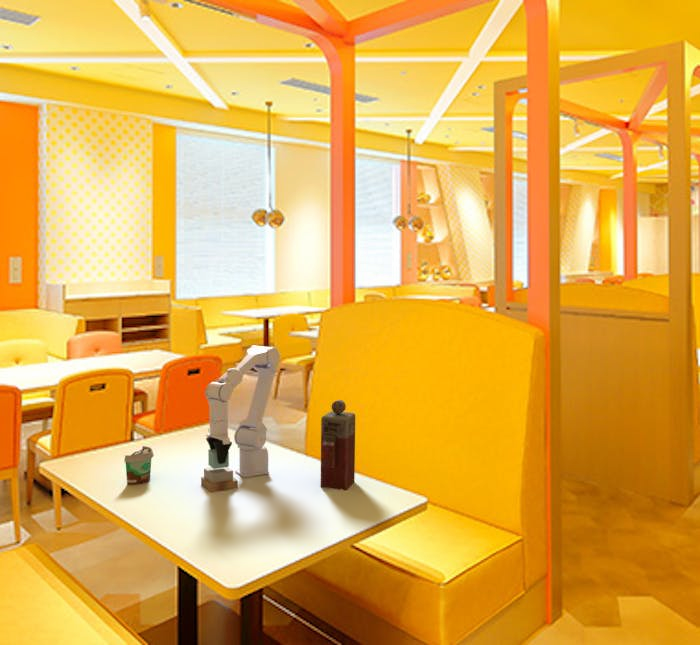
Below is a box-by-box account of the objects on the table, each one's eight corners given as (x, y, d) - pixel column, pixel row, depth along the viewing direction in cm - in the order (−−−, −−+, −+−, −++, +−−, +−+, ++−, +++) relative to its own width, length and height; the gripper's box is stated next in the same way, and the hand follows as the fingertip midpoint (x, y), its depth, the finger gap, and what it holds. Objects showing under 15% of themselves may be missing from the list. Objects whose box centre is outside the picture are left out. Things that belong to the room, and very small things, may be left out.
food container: (142, 487, 217) (141, 457, 216) (124, 486, 218) (124, 455, 217) (160, 475, 229) (160, 446, 228) (143, 474, 230) (143, 445, 229)
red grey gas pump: (317, 489, 218) (318, 403, 215) (329, 478, 228) (330, 396, 226) (344, 492, 215) (345, 405, 212) (354, 481, 226) (355, 398, 223)
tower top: (224, 474, 224) (224, 465, 224) (233, 479, 218) (233, 470, 218) (204, 477, 220) (204, 468, 220) (212, 483, 214) (212, 474, 214)
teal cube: (223, 462, 222) (223, 447, 221) (228, 466, 217) (228, 451, 217) (208, 464, 219) (208, 449, 219) (213, 468, 215) (213, 453, 214)
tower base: (227, 481, 225) (227, 472, 225) (237, 489, 218) (237, 480, 217) (201, 486, 221) (201, 477, 221) (210, 494, 213) (210, 485, 213)
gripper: (199, 416, 221) (199, 456, 222) (214, 425, 209) (214, 468, 210) (220, 413, 225) (220, 454, 226) (235, 423, 212) (236, 465, 214)
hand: (218, 461), depth 218 cm, fingers closed on teal cube, 5 cm apart
